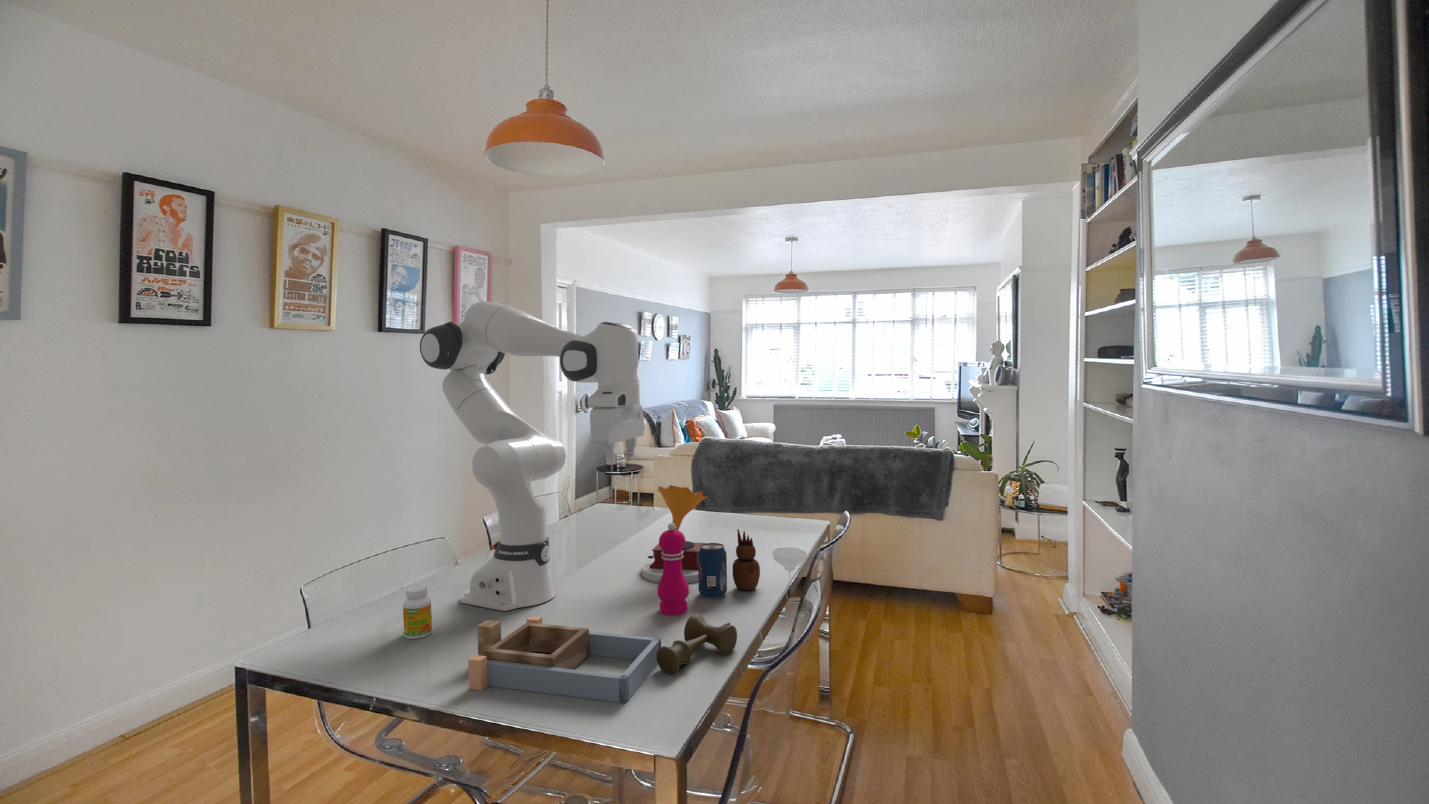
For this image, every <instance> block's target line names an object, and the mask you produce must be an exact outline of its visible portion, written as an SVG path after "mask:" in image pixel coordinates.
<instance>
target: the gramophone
mask: <svg viewBox="0 0 1429 804" xmlns="http://www.w3.org/2000/svg"><path fill="white" fill-rule="evenodd" d="M656 491H657V492H659V493H660V494H661V496H662V498H663V500H664V503H665V505H666V506H667V508H668V509H669V511H670V513H671V516H672V517H671V518H672V520H671V521H672V522H671V523H674V524H675V526H676V529H675V530H678V531H680V530H679V529H680V527H681V524H682V522H683V520H684V519H685V517H686V516H687V515H688V514H689V513H690V512H691V511H693V510H694V509H695V508H696V507H697V506H698V505H699V504H700V503H702V501H704V500H705V499H707V498H708V497H709V496H704V494H703V491H699V492H695V493H693V491H692V490H691V489H689V488H688V487H686V486H685V487H684V486H683V487H680V486H675V485H671V484H670V485H669V486H667V487H666V488H664V486H660V485H658V489H656ZM702 544H706V543H705V542H692V541H687V540H685V546H684V547H683V549H682V551H683V558H682V561H681V565H682V571H683V574H684V576H685V578H686V581H687V583H690V584H691V583H697V582H698V552H699V550H700V546H701V545H702ZM651 550H652V555H649V556H648V557H647V560H645V561H644V562H642V564H641V567H640V572H641V576H642V577H643V578H645V579H646V580H648V581H650V582H655V583H659V582H660V579H661V577H662V574H663V570H664V561H663V559H662V558H661V556H662V554H661V552H662V551H663V550H662V549H661V548H660V546H659V543H657V544H656V545H655V546H654V547H653V548H652V549H651Z"/></svg>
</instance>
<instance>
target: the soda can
mask: <svg viewBox="0 0 1429 804" xmlns="http://www.w3.org/2000/svg"><path fill="white" fill-rule="evenodd" d="M727 568H728V566H727V551H726V549H725V545H724V544H722V543H717V542H706V543H705V544H702V545H701V546H700V550H699V552H698V581H697V582H698V592H699V594H700V595H701V597H703V598H705V599H710V600H711V599H712V600H713V599H721V598H723V597H724V596H725V594H726V593H727V591H728V572H727V570H728V569H727Z"/></svg>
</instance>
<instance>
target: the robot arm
mask: <svg viewBox="0 0 1429 804" xmlns="http://www.w3.org/2000/svg"><path fill="white" fill-rule="evenodd" d="M421 336H422V337H421V338H420V341H419V351H420V355H421V357H422V360H423V362H424V363H425V364H426V365H427V366H429V367H430V368H432V369H436V370H437V369H438V370H445V371H446V370H450V371H449V372H448V373H447V374H446V376H445V377H444V378H443V381H442V391H443V394H444V396H445V398H446V400H447V402H448V403H449V405H450V407H451V409H452V410H453V412H454V414H455V415H456V416H457V418H458V419H459V420H460V421H461V423H462V424H463V426H464V427H465V428H466V430H467V431H468V432H469V434H470V435H471V436H472V437H473V439H474V440H475V441H477V442H479V443H481V444H483V446H480V447H478V449H477V450H476V451H475V453H474V454H473V456H472V457H473V458H472V462H471V469H472V473H473V476H474V478H475V479H476V481H477V482H478V483H479V484H480V485H481V486H483V487H484V488H486V489H487V490H488V491H489V493H490V495H491V496H492V498H493V501H494V503H495V506H496V509H497V516H498V531H499V540H498V541H496V542H495V543H494V544H491V545H489V548H490V549H489V551H493V550H494V551H493V556H492V557H491V558H490V559H488V561H486V562H485V563H484V564H482V565H481V566H480V567H479V568H477V569H476V570H475V571H474V573H473V574H472V575H471V578H470V583H469V589H468V590H466V591H465V592H464V593H462V594H461V595H460V597H459V603H462V604H464V605H465V604H466V605H471V606H476V607H481V608H486V609H492V610H497V611H502V612H505V611H511V610H514V609H518V608H525V607H527V608H528V607H532V606H536V605H541V604H543V603H545V602H548V601H550V600H552V599H553V598H555V596H556V594H557V593H556V591H555V587H554V584H553V580H552V575H551V569H550V556H551V555H550V552H551V551H550V538H549V537H548V523H547V522H548V521H547V507H546V506H545V504H544V503H543V502H542V501H541V500H539V499H537V498H535V496H534V493H533V490H532V486H531V482H535V481H539V480H545V479H547V478H549V477H551V476H553V475H555V474H557V473H559V472H561V470H562V469H563V467H564V465H565V464H566V458H567V457H566V456H567V455H566V450H565V447H564V445H563V443H562V442H561V441H560V440H559V438H556V437H554V436H551V435H548V434H546V433H544V432H542V431H540V430H539V429H537V428H536V427H534V426H532V425H531V424H530V423H528V422H527V421H525V420H524V419H523V418H521V417H520V416H519V415H517V413H516V412H514V411H513V410H512V409H511V408H510V406H509V405H508V403H506V401H505V400H504V399H503V398H502V396H500V394H499V393H498V392H497V390H496V389H495V388H494V387H493V386H492V384H490V382H489V380H488V379H487V375H491V374H493V373H495V372H496V371H497V368H498V366H499V365H500V364H501V363H502V361H503V360H504V357H505V356H506V355H510V356H517V357H559V365H560V369H561V373H562V374H563V375H564V376H565V378H566V379H568V381H571V382H576V383H583V384H584V383H585V384H586V383H590V384H591V383H597V389H596V390H595V392H594V393H592V394H591V395H590V396H589V397H588V399H587V405H588V408H590V412H589V413H590V414H589V425H590V437H591V440H592V442H593V444H594V445H602V450H603V454H604V456H605V464H606V465H607V466H609V465H610V466H611V465H612V466H613V465H616V464H617V462H618V461H617V457H618V456H617V455H616V453H615V450H614V449H615V448H616V443H620V442H622V441H623V442H624V441H625V443H626V444H625V445H626V446H625V450H624V459H625V460H632V459H634V458H635V450H636V446H637V438H641V437H643V436H644V434H645V430H646V429H645V428H646V427H645V418H644V417H645V416H644V409H643V406H642V405H641V401H640V400H641V399H640V380H639V379H640V378H639V376H638V367H639V363H640V362H639V361H640V360H639V346H638V344H639V343H638V339H637V338H638V337H637V334H636V331H635V328H634V327H632V326H631V325H630V324H627V323H621V322H613V321H603V322H599V324H598V325H597V326H596V327H595V329H593V330H592V331H591V332H589V333H587V334H586V335H583V336H582V335H579V334H577V333H576V334H575V333H573V332H570V331H567V330H564V329H562V328H560V327H557V326H555V325H552V324H551V323H548V322H547V321H544V320H541V319H540V318H538V317H535V316H534V315H532V314H529V313H527V312H526V311H523V310H521V309H518V308H516V307H513V306H509V305H507V304H503V303H499V302H493V301H487V300H485V301H483V300H482V301H477V302H475V303H473V304H471V305H470V306H469V308H468V309H467V310H466V312H465V314H464V319H463V320H462V321H461V322H460V323H454V322H452V321H448V322H446V323H443V324H439V325H436V326H433V327H431V328H429V329H427V330H426V331H424V333H423V334H422V335H421Z"/></svg>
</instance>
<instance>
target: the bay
mask: <svg viewBox="0 0 1429 804" xmlns="http://www.w3.org/2000/svg"><path fill="white" fill-rule="evenodd" d="M526 623H537V624H543V617H542V616H537V615H536V616H534V615H532V616H530V617H528V618H527V619H526ZM660 647H662V638H660V637H654V636H653V637H650V636H640V635H629V634H621V633H619V634H618V633H610V632H609V633H608V632H599V631H592V630H591V631H589V655H592V656H599V657H600V656H601V657H609V658H610V657H612V658H620V659H629V660H634V661H633V662H632V663H631V664H629V666H628V667H627V668H626V670H625V671H624V672H623V673H622V674H615V673H606V672H597V671H596V672H595V671H591V670H590V671H589V670H588V671H587V670H581V669H564V668H556V667H547V666H538V665H529V664H521V663H512V662H503V661H495V660H487V656H480V655H478V654H474V655H473V656H471V657H470V658H468V660H467V663H468V667H467V668H468V689H469V690H474V691H482V690H483V691H484V689H486V688H487V687H496V688H504V689H513V690H518V691H519V690H520V691H528V692H535V693H545V694H551V695H552V694H553V695H558V696H559V695H560V696H567V697H568V696H569V697H575V698H583V699H589V700H598V701H605V702H615V703H623V704H627V703H628V702H629V700H630V699H631V698H632V697H633V696H634V694H635V693H636V691H637V690H638V689H639V688H640V686H641V685H643V683H644V682H645V680H646V679H647V678H648V677H649V676H650V674H651V673H652V672H653V670H654V669H655V668H656V666H658V663H657V651H658V649H659V648H660Z"/></svg>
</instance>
